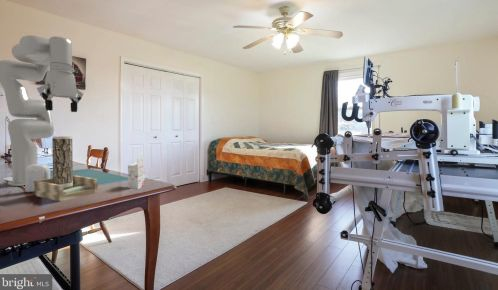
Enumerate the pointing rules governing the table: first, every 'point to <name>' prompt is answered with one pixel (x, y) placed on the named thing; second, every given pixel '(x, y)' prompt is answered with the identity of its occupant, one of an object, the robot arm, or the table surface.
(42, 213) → the table surface
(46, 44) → the robot arm
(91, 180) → the tan open tray
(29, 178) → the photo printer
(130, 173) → the ink cartridge box
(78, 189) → the sage offcut
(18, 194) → the table surface
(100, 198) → the table surface
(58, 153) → the bark covered post
